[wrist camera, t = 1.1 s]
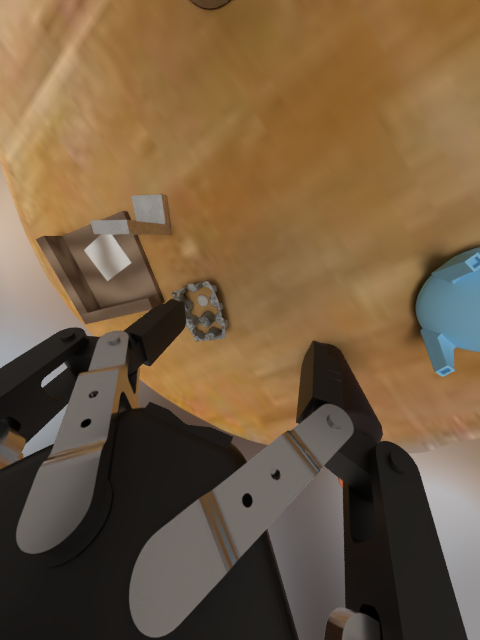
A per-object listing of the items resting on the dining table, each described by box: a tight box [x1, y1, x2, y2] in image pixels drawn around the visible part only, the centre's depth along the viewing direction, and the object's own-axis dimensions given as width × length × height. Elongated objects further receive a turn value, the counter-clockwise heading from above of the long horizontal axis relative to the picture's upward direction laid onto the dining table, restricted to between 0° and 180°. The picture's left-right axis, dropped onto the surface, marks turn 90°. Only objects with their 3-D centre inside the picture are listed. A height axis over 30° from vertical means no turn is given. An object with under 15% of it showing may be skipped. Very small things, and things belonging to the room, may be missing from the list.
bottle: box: [305, 345, 383, 488], centre depth 27 cm, size 7×7×20 cm
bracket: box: [91, 194, 172, 235], centre depth 27 cm, size 6×5×10 cm
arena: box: [36, 211, 165, 324], centre depth 35 cm, size 16×16×4 cm
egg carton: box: [172, 281, 228, 342], centre depth 35 cm, size 11×8×4 cm
